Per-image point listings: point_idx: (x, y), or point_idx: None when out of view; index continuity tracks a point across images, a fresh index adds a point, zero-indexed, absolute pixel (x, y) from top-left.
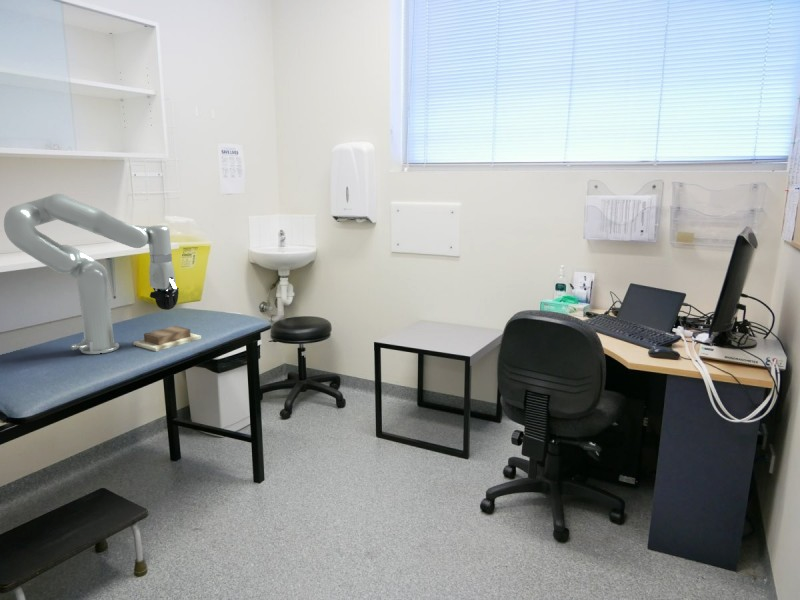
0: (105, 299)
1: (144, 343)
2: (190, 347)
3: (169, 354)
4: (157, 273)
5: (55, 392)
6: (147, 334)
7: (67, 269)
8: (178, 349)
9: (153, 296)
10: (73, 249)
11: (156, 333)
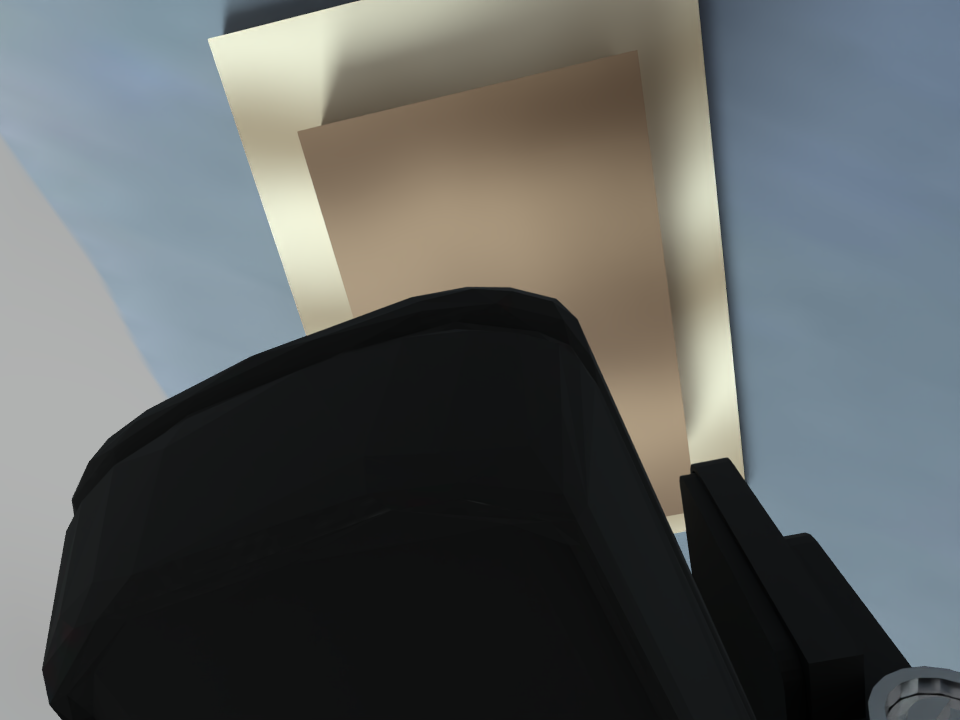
0: None
1: (517, 13)
2: (157, 379)
3: (16, 112)
4: None
5: None
6: (559, 76)
7: None
8: (155, 263)
9: (196, 387)
10: None
11: (518, 196)
